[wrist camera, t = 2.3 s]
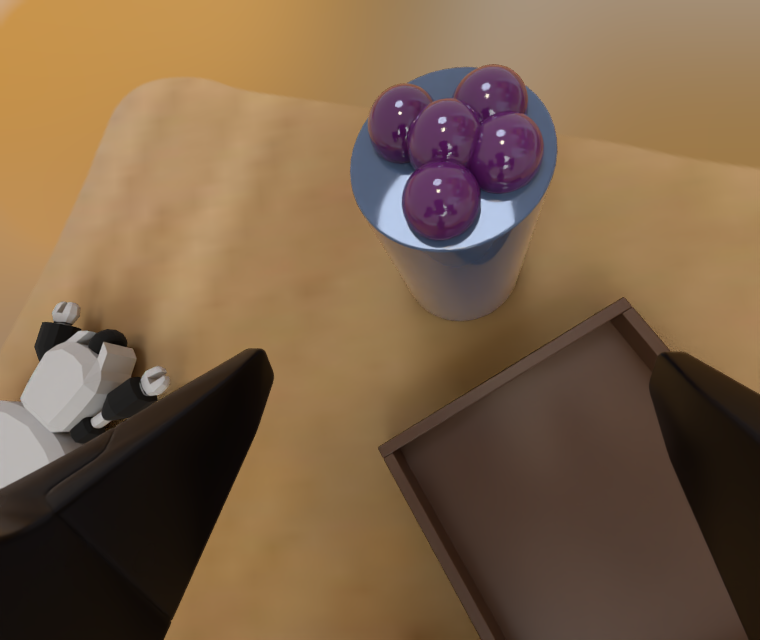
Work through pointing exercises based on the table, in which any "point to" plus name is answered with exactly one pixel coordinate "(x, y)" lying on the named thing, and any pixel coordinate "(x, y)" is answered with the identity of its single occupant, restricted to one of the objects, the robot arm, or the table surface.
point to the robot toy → (71, 394)
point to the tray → (565, 497)
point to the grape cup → (456, 183)
